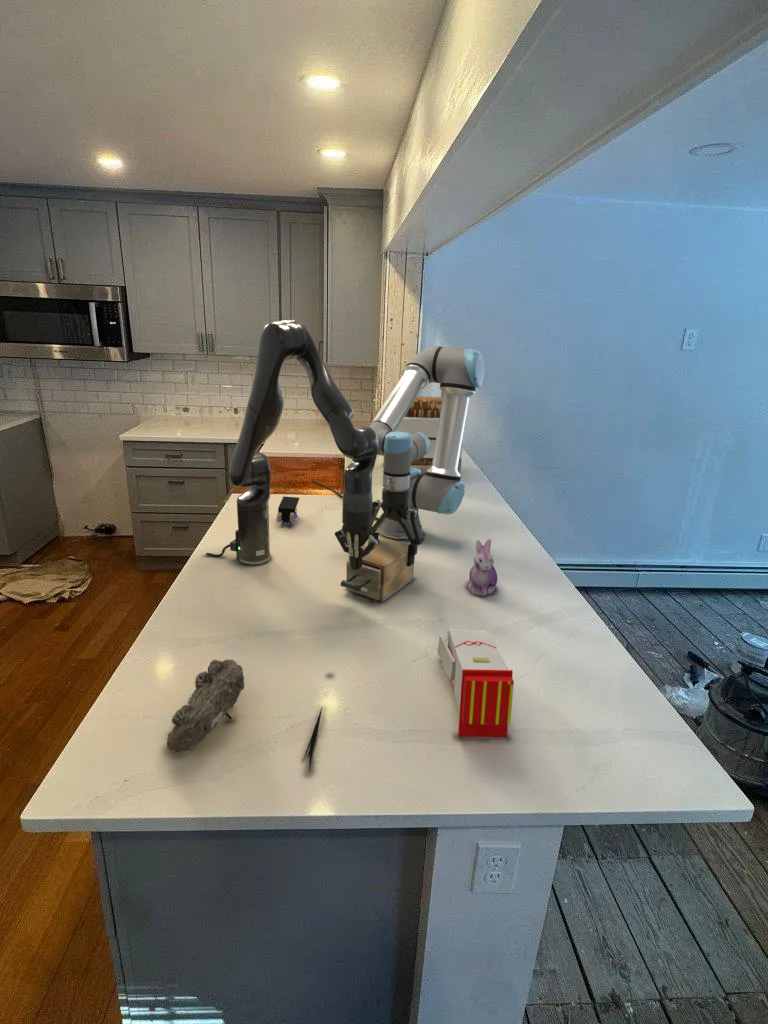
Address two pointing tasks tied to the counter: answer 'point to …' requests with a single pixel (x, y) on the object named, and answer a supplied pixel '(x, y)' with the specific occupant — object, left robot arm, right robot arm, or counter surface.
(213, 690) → the fossil
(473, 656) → the toy
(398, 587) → the cabinet
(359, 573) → the drawer
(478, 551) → the figurine
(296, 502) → the figurine character
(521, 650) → the counter surface
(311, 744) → the feather
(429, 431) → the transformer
